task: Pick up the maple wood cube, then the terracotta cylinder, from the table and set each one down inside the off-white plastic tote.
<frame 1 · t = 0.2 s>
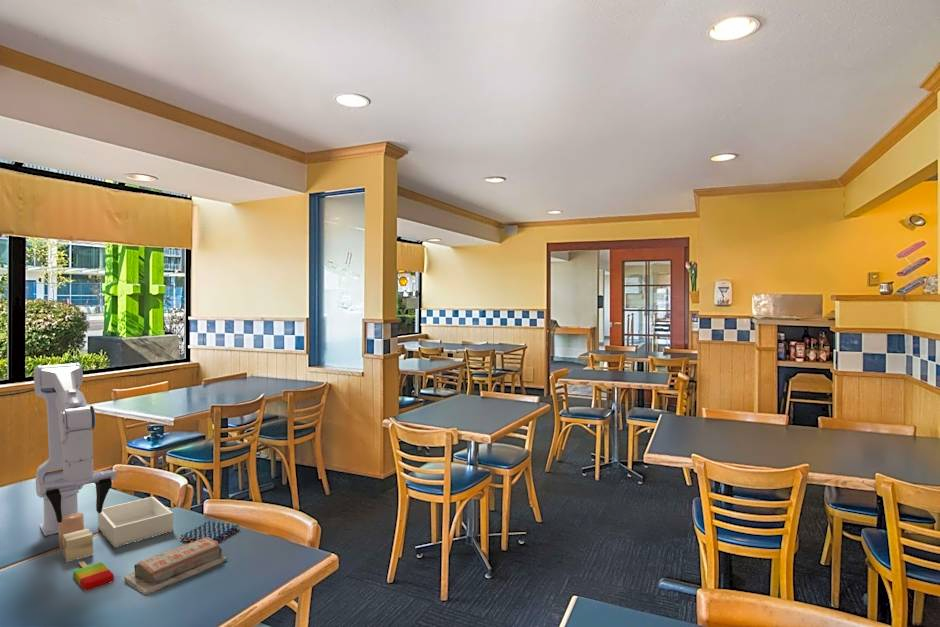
hand: (79, 516, 127), 10 cm above the table, tool pointing down, fingers open, 7 cm apart
tote: (135, 529, 144), on the table
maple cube: (78, 555, 129), on the table
woven mat: (210, 538, 140), on the table
packaged product: (177, 573, 121), on the table
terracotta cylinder: (71, 544, 135), on the table
popsicle: (90, 577, 120), on the table
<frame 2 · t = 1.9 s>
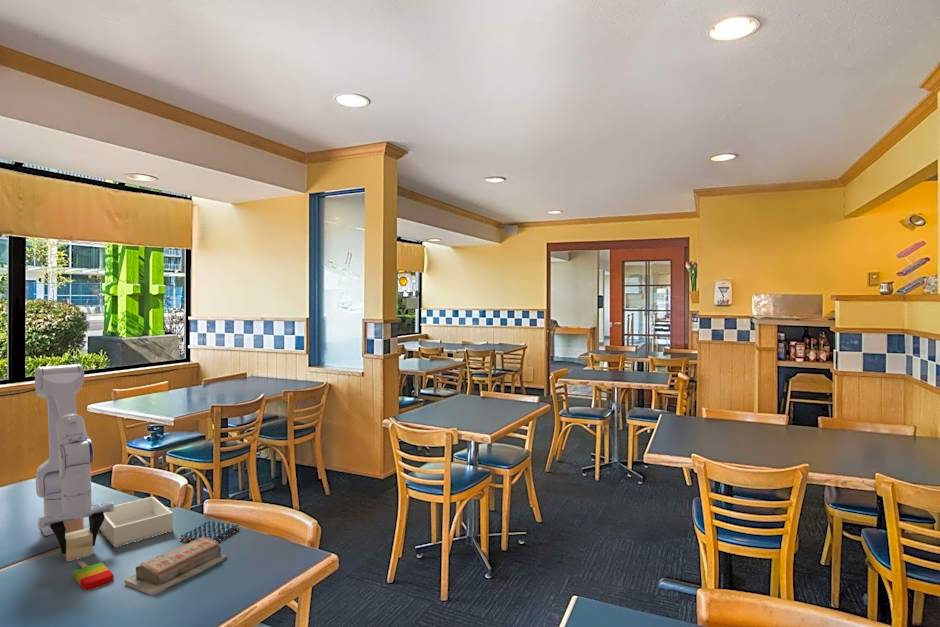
hand: (78, 549, 129), 1 cm above the table, tool pointing down, fingers closed on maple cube, 5 cm apart
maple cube: (78, 554, 129), on the table, touching gripper
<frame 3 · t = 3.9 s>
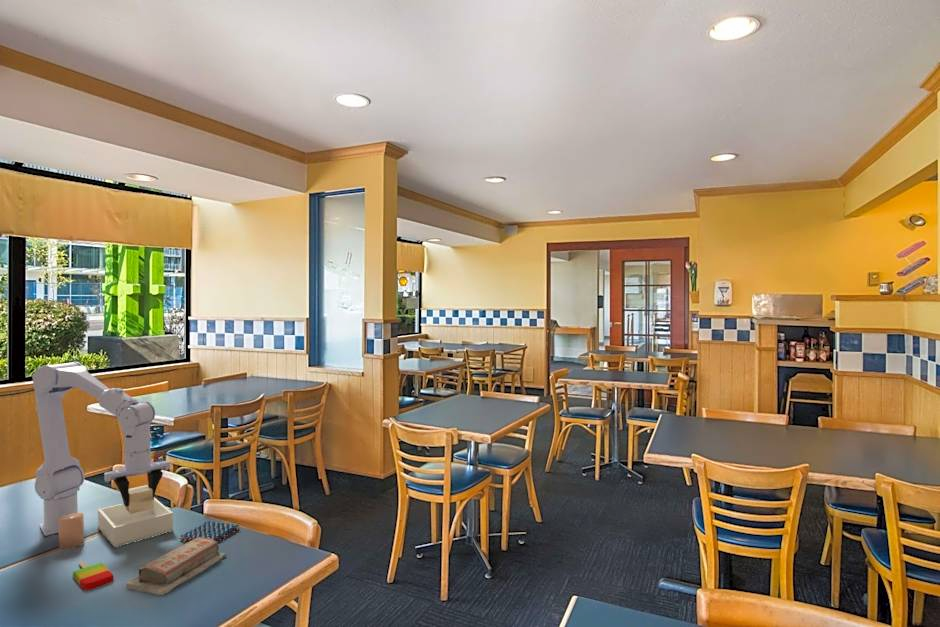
hand: (138, 502, 141), 8 cm above the table, tool pointing down, fingers closed on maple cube, 5 cm apart
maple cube: (139, 508, 140), point 7 cm above the table, touching gripper
when the fingers open (3 cm above the table, at t = 5.2 s): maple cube drops 1 cm, resting on tote.
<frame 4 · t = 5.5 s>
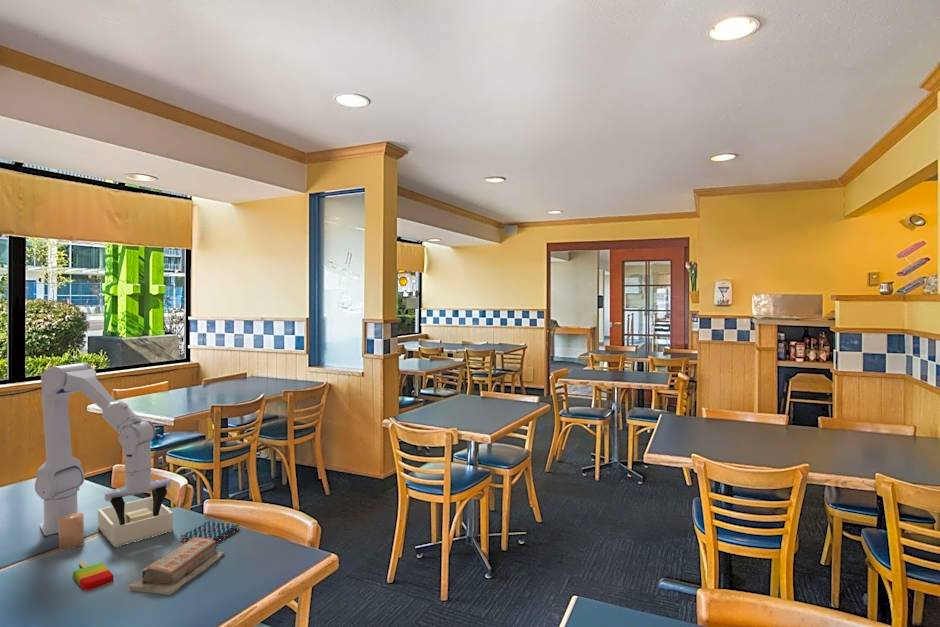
hand: (139, 521, 141), 3 cm above the table, tool pointing down, fingers open, 7 cm apart
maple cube: (139, 532, 141), point 1 cm above the table, touching tote
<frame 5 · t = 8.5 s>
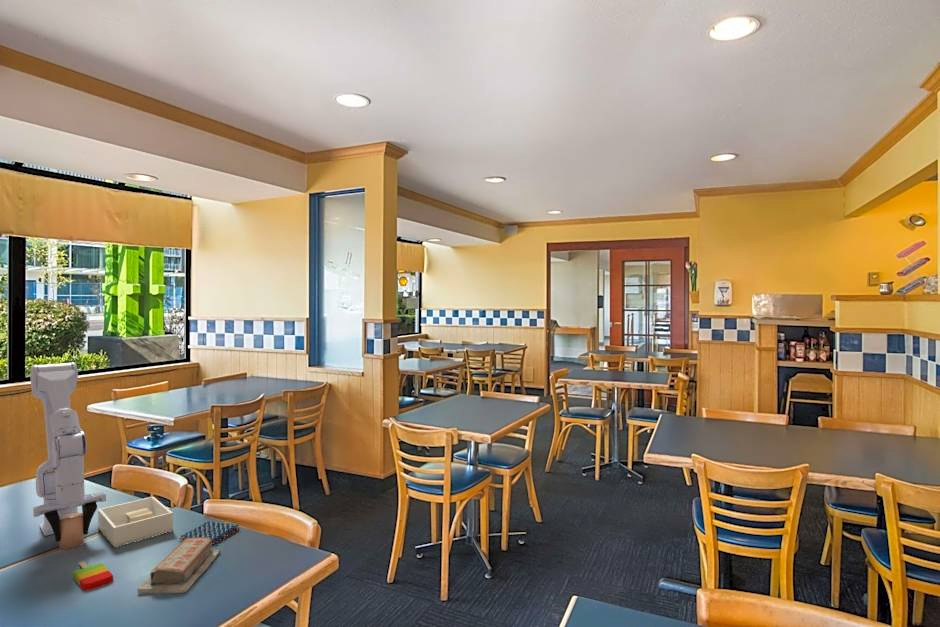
hand: (71, 536, 135), 2 cm above the table, tool pointing down, fingers closed on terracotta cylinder, 5 cm apart
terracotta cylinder: (71, 544, 135), on the table, touching gripper
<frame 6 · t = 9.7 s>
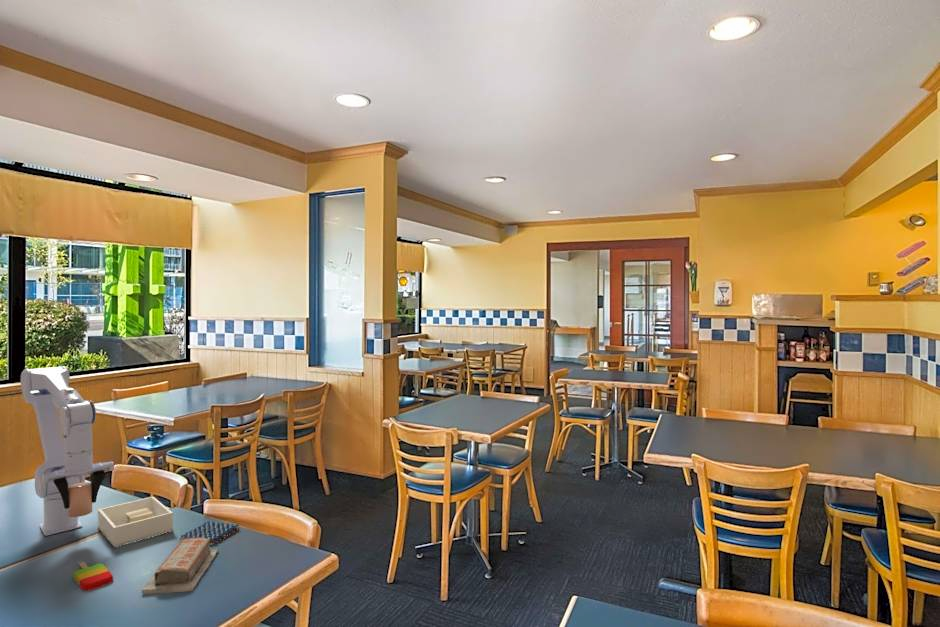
hand: (80, 504, 136), 9 cm above the table, tool pointing down, fingers closed on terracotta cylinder, 5 cm apart
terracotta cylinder: (80, 513, 136), point 7 cm above the table, touching gripper
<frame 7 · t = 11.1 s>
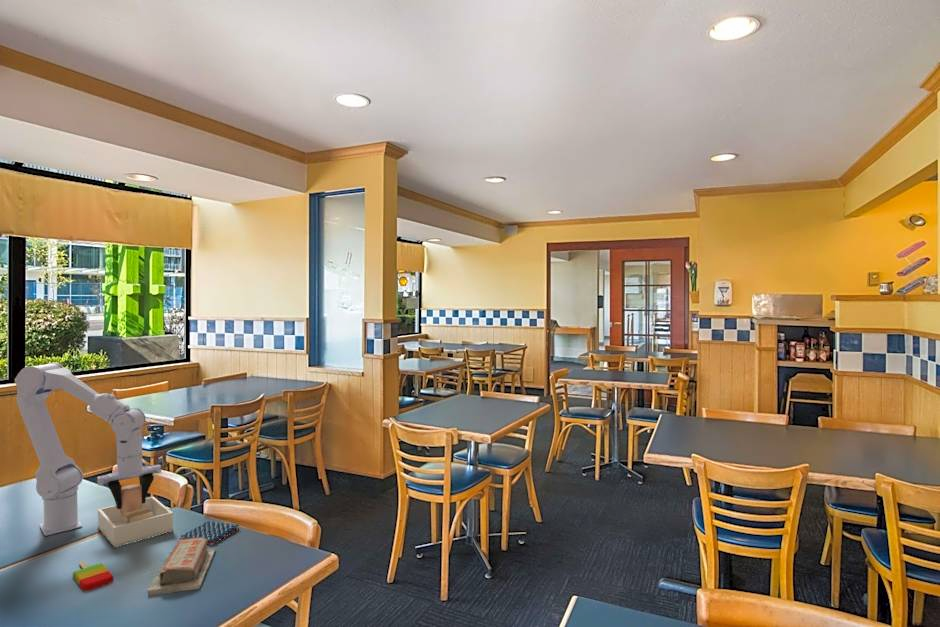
hand: (131, 505, 146), 6 cm above the table, tool pointing down, fingers closed on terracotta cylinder, 5 cm apart
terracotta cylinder: (131, 513, 146), point 3 cm above the table, touching gripper
when the fingers open (4 cm above the table, at t = 11.9 s): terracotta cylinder drops 1 cm, resting on tote.
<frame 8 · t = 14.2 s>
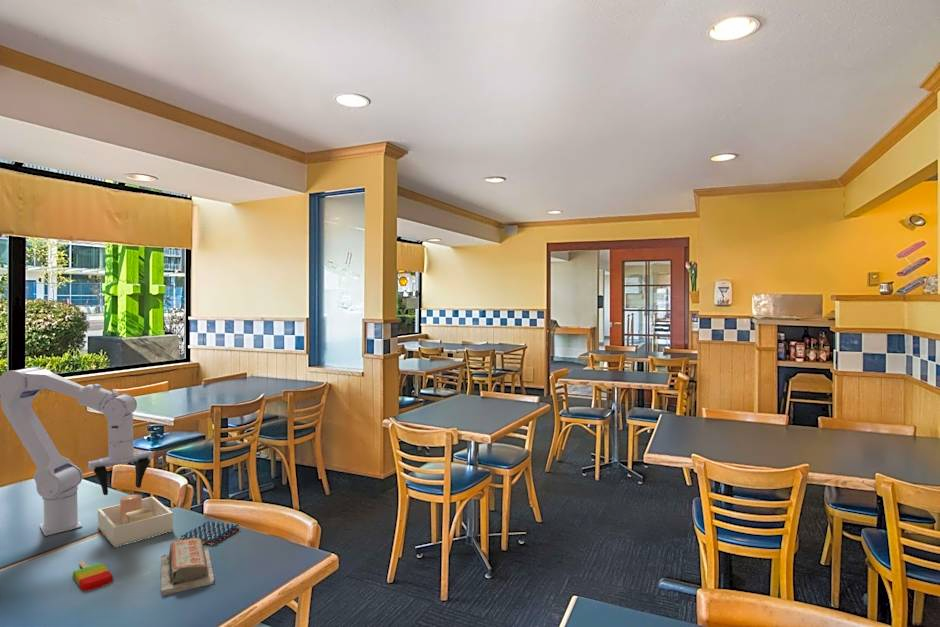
hand: (122, 490, 147), 9 cm above the table, tool pointing down, fingers open, 7 cm apart
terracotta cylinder: (131, 523, 146), point 1 cm above the table, touching tote
at the end: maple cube inside the target area on the tote (4.1 cm from its centre), point 0.6 cm above the tote's base; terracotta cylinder inside the target area on the tote (3.7 cm from its centre), point 0.6 cm above the tote's base; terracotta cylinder tilted 0° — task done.
